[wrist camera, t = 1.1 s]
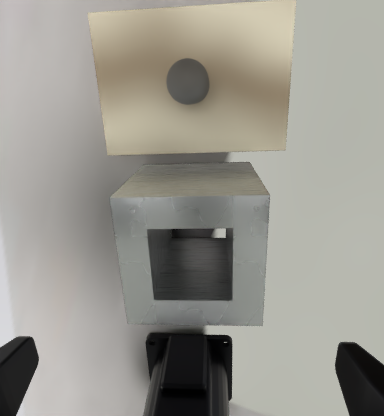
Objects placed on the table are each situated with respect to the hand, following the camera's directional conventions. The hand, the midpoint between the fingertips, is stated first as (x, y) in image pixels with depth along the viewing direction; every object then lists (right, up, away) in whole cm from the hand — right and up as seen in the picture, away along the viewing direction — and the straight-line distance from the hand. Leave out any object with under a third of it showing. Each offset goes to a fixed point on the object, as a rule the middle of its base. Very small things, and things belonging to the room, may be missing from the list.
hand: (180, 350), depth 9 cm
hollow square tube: (+1, +4, +10) cm, 11 cm away
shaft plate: (0, +11, +8) cm, 13 cm away
